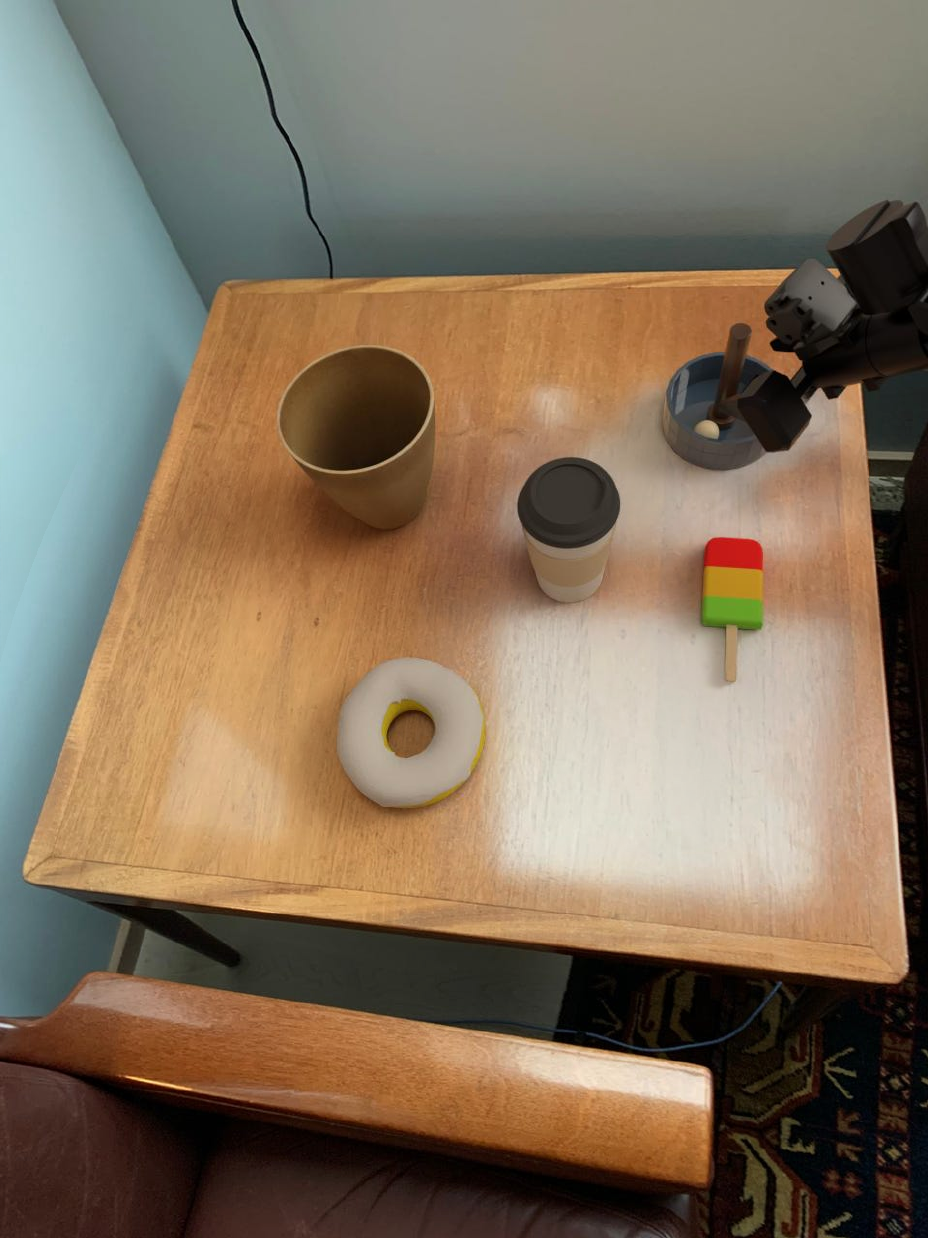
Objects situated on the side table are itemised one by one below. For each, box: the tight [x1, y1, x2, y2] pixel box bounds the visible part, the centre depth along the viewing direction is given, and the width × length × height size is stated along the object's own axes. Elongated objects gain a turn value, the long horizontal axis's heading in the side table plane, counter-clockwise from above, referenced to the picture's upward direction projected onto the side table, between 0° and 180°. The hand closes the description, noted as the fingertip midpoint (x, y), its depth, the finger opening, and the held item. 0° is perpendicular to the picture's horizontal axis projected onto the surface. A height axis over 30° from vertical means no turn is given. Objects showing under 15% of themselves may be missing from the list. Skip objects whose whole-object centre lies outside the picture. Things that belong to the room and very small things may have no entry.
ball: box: [694, 420, 719, 439], centre depth 90 cm, size 3×3×3 cm
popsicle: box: [701, 536, 764, 683], centre depth 83 cm, size 6×15×2 cm, turn 172°
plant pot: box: [276, 344, 436, 531], centre depth 87 cm, size 15×15×16 cm
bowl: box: [662, 351, 774, 471], centre depth 91 cm, size 12×12×4 cm
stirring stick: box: [706, 322, 753, 430], centre depth 87 cm, size 3×3×13 cm
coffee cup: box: [516, 456, 621, 604], centre depth 81 cm, size 9×9×15 cm
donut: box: [336, 656, 487, 809], centre depth 80 cm, size 14×14×5 cm
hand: (747, 376), depth 85 cm, fingers open, 9 cm apart
